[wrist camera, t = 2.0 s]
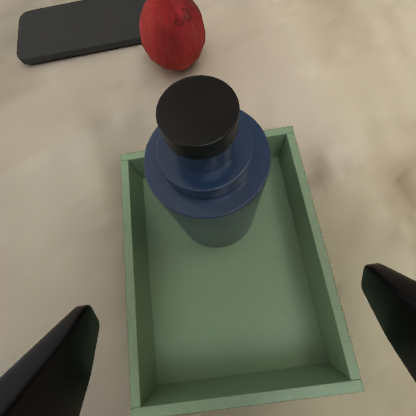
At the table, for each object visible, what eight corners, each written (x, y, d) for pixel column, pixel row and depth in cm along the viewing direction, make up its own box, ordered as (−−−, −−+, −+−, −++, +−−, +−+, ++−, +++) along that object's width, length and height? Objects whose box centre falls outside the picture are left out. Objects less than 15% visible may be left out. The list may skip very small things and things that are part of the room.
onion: (203, 39, 28) (192, -54, 20) (212, 82, 26) (205, -2, 18) (150, 51, 28) (119, -38, 20) (156, 94, 26) (125, 15, 19)
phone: (152, 35, 27) (15, 61, 28) (155, 42, 28) (21, 67, 29) (146, -14, 30) (19, 11, 30) (148, -6, 30) (24, 19, 31)
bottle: (245, 256, 20) (267, 209, 8) (170, 237, 21) (86, 170, 9) (260, 184, 22) (300, 51, 10) (190, 169, 23) (143, 32, 10)
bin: (336, 368, 18) (365, 391, 14) (151, 392, 19) (131, 420, 15) (282, 152, 23) (292, 125, 19) (138, 175, 24) (120, 154, 20)
